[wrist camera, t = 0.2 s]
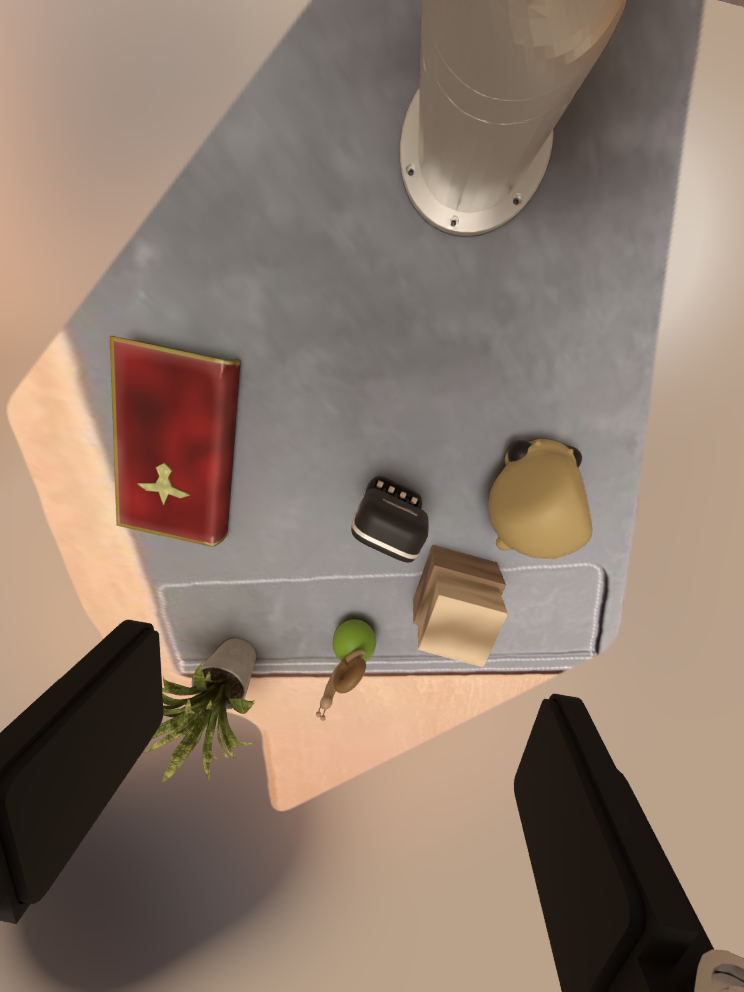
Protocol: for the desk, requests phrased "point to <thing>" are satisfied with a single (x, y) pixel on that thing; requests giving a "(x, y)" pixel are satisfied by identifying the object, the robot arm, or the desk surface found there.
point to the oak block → (460, 619)
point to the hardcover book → (173, 440)
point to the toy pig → (540, 501)
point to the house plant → (208, 703)
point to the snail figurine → (349, 659)
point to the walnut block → (455, 573)
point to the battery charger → (391, 520)
